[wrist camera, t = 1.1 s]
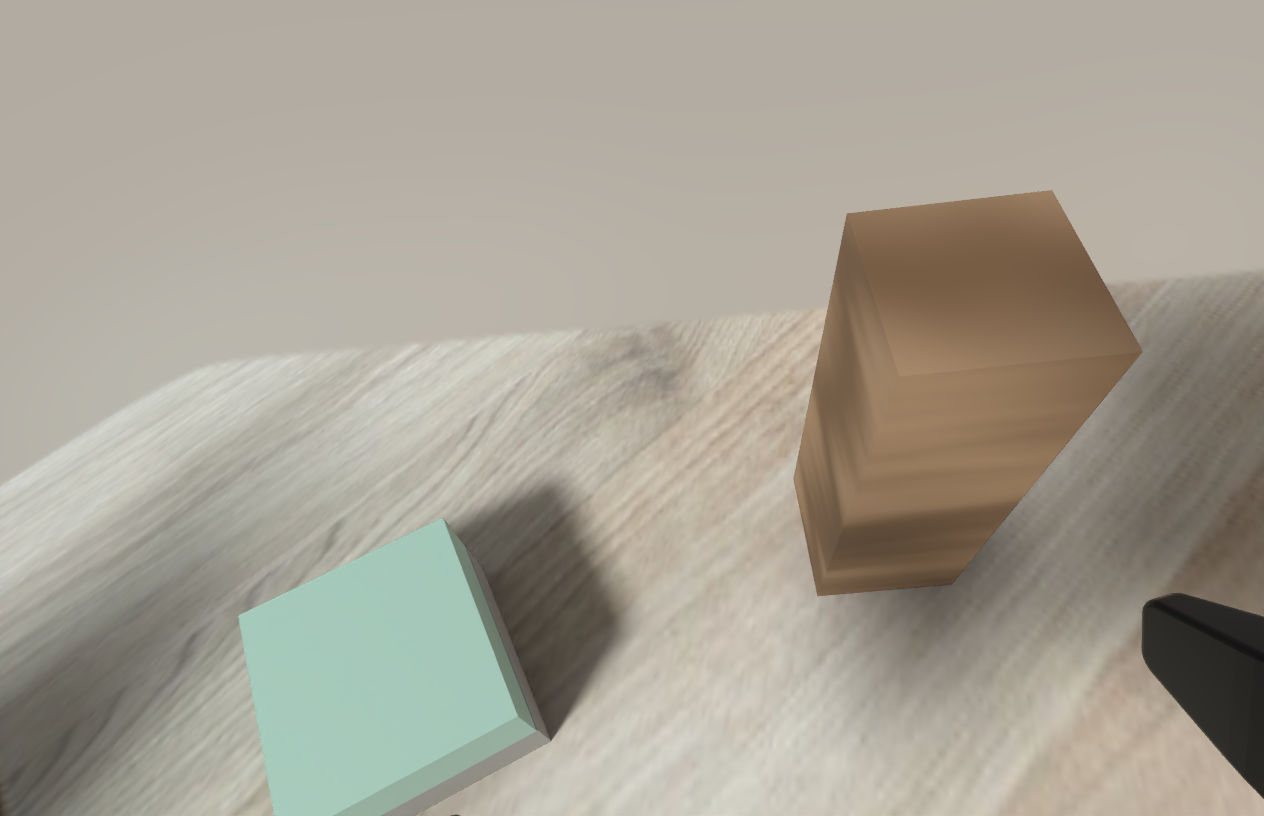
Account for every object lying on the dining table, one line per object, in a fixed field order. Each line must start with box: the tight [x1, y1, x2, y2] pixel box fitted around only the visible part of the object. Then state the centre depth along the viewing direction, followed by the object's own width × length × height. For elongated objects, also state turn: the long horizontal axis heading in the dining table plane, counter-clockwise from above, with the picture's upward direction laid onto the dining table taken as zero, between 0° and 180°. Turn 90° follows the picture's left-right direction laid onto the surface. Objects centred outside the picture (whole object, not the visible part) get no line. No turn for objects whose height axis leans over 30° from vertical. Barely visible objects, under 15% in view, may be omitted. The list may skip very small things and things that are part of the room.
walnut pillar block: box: [794, 190, 1142, 596], centre depth 20 cm, size 4×4×13 cm
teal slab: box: [238, 518, 537, 816], centre depth 21 cm, size 6×6×2 cm
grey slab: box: [381, 546, 551, 816], centre depth 23 cm, size 6×6×2 cm
